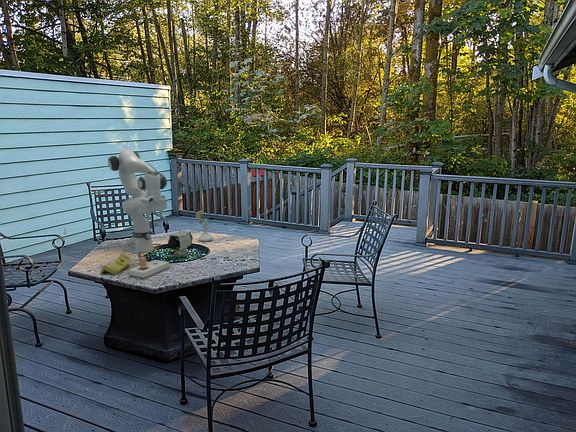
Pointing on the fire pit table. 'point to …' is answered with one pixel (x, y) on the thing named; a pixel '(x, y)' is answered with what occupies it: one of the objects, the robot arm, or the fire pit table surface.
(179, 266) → the fire pit table surface
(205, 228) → the flower in vase
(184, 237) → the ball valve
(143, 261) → the brown cylinder
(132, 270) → the fitting block
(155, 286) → the fire pit table surface
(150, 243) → the robot arm
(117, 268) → the plastic component
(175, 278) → the fire pit table surface
